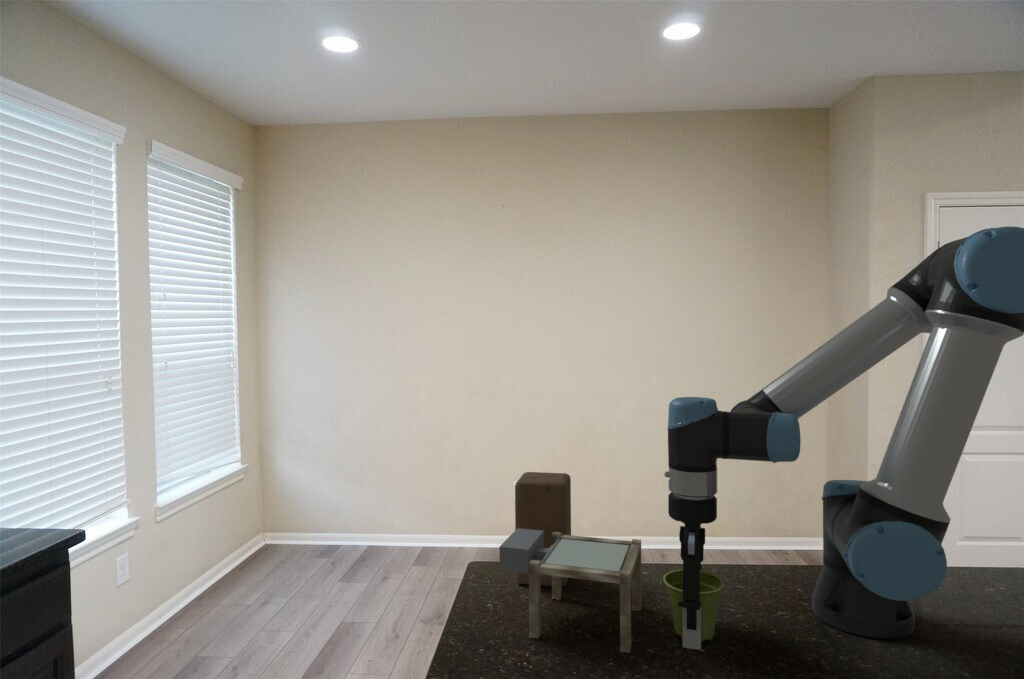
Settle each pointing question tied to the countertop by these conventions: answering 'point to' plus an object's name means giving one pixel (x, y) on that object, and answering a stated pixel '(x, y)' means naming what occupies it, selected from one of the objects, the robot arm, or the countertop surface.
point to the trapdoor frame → (623, 578)
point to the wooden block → (543, 510)
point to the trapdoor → (559, 553)
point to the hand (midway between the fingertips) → (692, 632)
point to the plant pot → (708, 600)
